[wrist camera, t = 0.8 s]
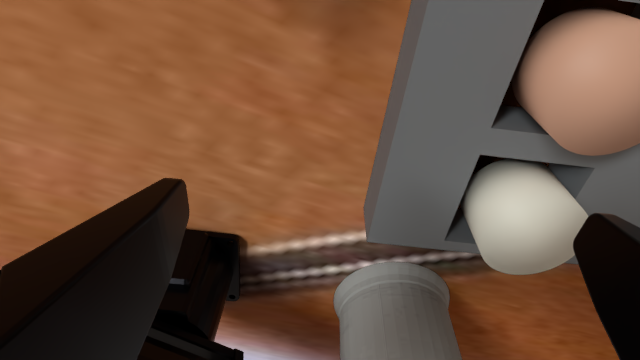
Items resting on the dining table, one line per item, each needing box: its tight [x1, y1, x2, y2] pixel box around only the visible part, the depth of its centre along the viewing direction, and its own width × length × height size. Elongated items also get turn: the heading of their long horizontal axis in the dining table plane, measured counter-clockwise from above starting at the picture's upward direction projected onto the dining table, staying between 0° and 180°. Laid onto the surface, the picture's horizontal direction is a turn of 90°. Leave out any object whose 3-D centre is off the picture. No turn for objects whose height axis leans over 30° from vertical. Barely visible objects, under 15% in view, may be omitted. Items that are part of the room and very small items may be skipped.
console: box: [364, 0, 640, 264], centre depth 17 cm, size 21×14×3 cm, turn 173°
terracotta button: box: [512, 7, 640, 156], centre depth 15 cm, size 5×5×3 cm
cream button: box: [460, 158, 588, 275], centre depth 19 cm, size 5×5×3 cm
